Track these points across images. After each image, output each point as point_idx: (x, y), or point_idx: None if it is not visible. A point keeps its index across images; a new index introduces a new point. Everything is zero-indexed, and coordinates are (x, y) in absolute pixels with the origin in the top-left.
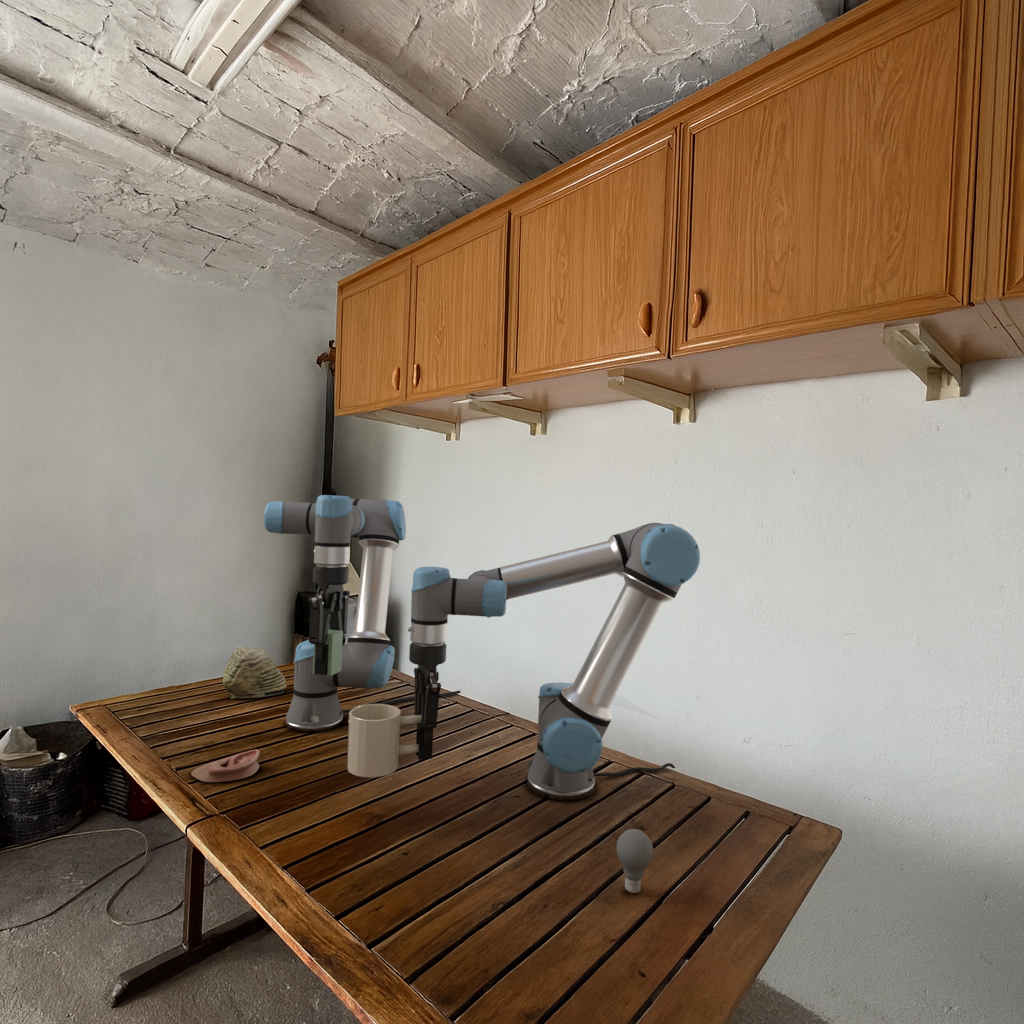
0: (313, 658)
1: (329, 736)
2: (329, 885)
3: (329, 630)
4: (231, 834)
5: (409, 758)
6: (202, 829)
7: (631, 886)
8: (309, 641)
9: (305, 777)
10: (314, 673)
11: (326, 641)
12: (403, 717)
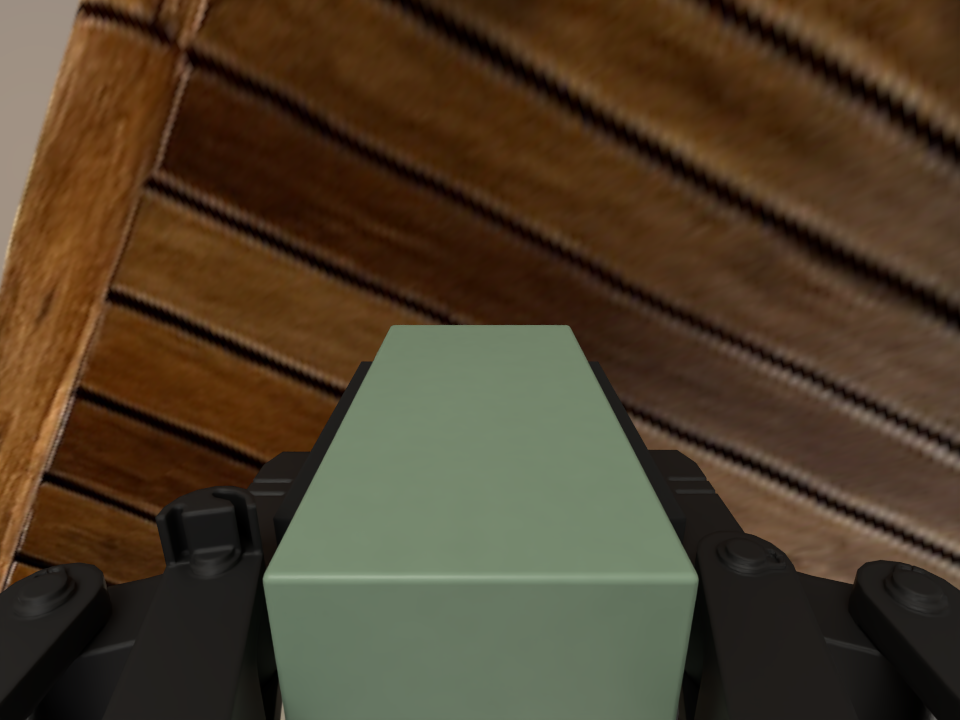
0: (364, 379)
1: (903, 33)
2: (82, 504)
3: (587, 702)
4: (115, 176)
5: (738, 417)
6: (89, 70)
7: None
8: (16, 591)
9: (507, 168)
10: (359, 365)
11: (280, 698)
12: None
